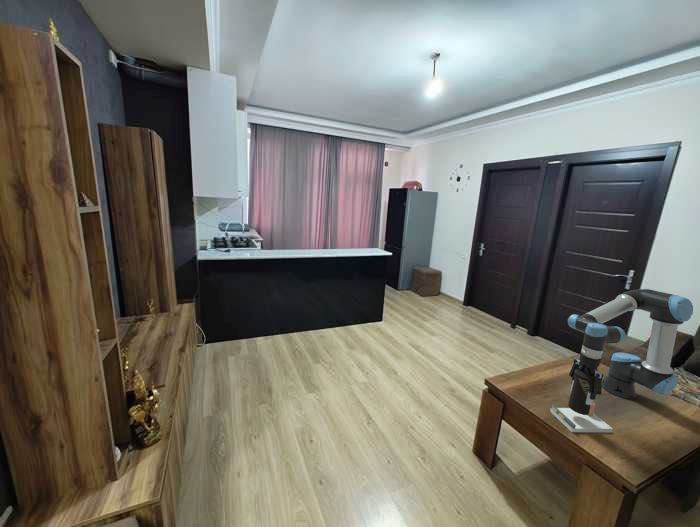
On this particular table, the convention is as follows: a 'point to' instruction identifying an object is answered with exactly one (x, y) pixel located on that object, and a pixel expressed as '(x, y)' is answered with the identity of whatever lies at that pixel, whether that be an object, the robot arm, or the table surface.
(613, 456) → the table surface
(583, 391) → the container
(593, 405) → the peach rounded cylinder
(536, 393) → the table surface
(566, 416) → the thin white panel
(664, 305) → the robot arm
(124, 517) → the table surface
